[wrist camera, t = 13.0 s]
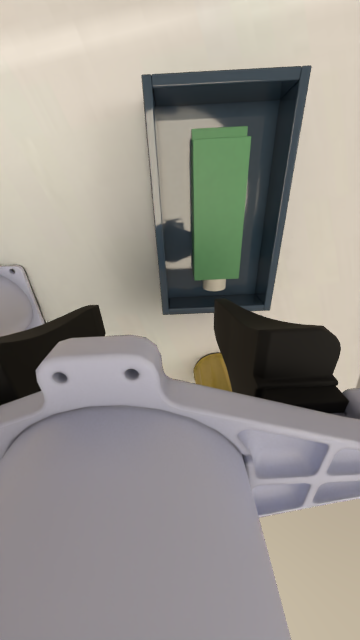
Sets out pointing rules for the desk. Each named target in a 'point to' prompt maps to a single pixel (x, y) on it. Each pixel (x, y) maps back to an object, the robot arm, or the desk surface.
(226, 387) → the vase
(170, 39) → the desk surface
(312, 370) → the robot arm
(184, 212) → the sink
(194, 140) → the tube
